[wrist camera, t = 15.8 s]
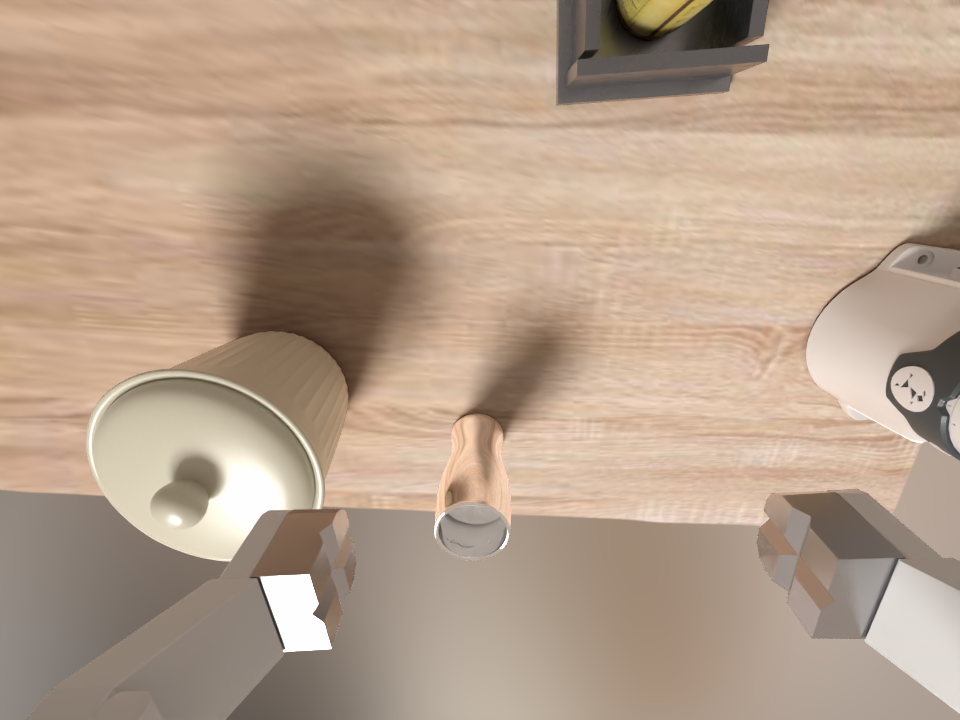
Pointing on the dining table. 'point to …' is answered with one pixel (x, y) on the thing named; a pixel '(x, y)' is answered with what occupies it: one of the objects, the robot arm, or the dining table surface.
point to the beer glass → (474, 492)
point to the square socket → (654, 52)
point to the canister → (220, 441)
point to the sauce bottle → (657, 15)
